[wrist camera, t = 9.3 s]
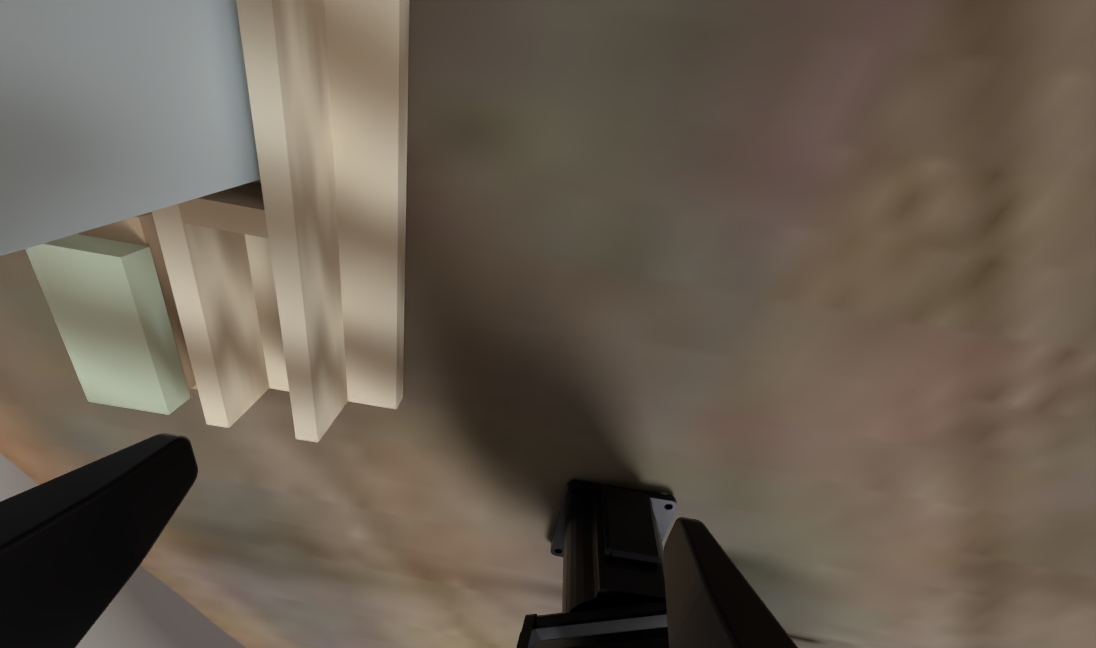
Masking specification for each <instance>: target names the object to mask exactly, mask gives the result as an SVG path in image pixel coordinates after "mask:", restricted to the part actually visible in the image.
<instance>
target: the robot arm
mask: <svg viewBox="0 0 1096 648" xmlns="http://www.w3.org/2000/svg"><path fill="white" fill-rule="evenodd" d="M197 473H198V466H197V463H196V459H195V456H194V452H193V449H192V445H191V442H190V440H189V439H188V438H187V437H185V436H180V435H174V434H167V433H163V434H158V435H155V436H153V437H150V438H148V439H146V440H143V441H141V442H139V443H136V444H134V445H132V446H129V447H127V448H125V449H122V450H120V451H118V452H115V453H113V454H111V455H108V456H106V457H104V458H101V459H99V460H97V461H94V462H92V463H90V464H87V465H85V466H83V467H80V468H78V469H76V470H73V471H71V472H69V473H66V474H64V475H62V476H59V477H57V478H55V479H52V480H50V481H48V482H45V483H43V484H41V485H38V486H36V487H34V488H32V489H29V490H27V491H24V492H22V493H20V494H18V495H15V496H13V497H10V498H8V499H6V500H4V501H1V502H0V648H75V647H76V646H77V645H78V643H79V642H80V640H82V638H83V637H84V636H85V635H86V633H87V632H88V631H89V629H90V628H91V627H92V625H93V624H94V623H95V622H96V620H97V619H98V618H99V617H100V615H101V614H102V613H103V612H104V610H105V609H106V608H107V607H108V605H109V604H110V603H111V601H112V600H113V599H114V598H115V596H116V595H117V594H118V593H119V591H120V590H121V589H122V587H123V586H124V585H125V584H126V582H127V581H128V580H129V579H130V577H131V576H132V575H133V573H134V572H135V571H136V569H137V568H138V567H139V565H140V564H141V562H142V561H143V559H144V558H145V557H146V555H147V554H148V552H149V551H150V549H151V548H152V546H153V545H154V543H155V542H156V540H157V539H158V537H159V536H160V534H161V532H162V531H163V529H164V528H165V526H166V525H167V523H168V522H169V520H170V519H171V517H172V516H173V514H174V513H175V511H176V510H177V508H178V506H179V505H180V503H181V502H182V500H183V499H184V497H185V496H186V494H187V493H188V491H189V490H190V488H191V487H192V485H193V483H194V482H195V480H196V477H197ZM676 510H677V502H676V499H675V498H674V497H673V496H670V495H664V494H658V493H652V492H646V491H640V490H634V489H628V488H622V487H616V486H610V485H604V484H597V483H591V482H585V481H579V480H572V481H570V482H569V483H568V484H567V487H566V491H565V494H564V498H563V502H562V505H561V509H560V513H559V517H558V520H557V524H556V528H555V531H554V535H553V539H552V542H551V553H552V554H553V555H555V556H560V557H563V596H562V613H556V614H547V615H539V616H537V614H530V615H526V616H525V620H524V624H523V628H522V631H521V633H520V636H519V640H518V644H517V648H798V647H797V646H796V644H795V643H794V642H793V640H792V639H791V638H790V637H789V635H788V634H787V633H786V631H785V630H784V629H783V627H782V626H781V625H780V623H779V622H778V621H777V620H776V618H775V617H774V616H773V614H772V613H771V612H770V610H769V609H768V608H767V606H766V605H765V604H764V602H763V601H762V600H761V599H760V597H759V596H758V595H757V593H756V592H755V591H754V589H753V588H752V587H751V585H750V584H749V583H748V581H747V580H746V579H745V578H744V576H743V575H742V574H741V572H740V571H739V570H738V568H737V567H736V566H735V564H734V563H733V562H732V561H731V559H730V558H729V557H728V555H727V554H726V553H725V551H724V550H723V549H722V547H721V546H720V545H719V543H718V542H717V541H716V540H715V538H714V537H713V536H712V534H711V533H710V532H709V530H708V529H707V528H706V526H705V525H704V524H703V523H702V522H701V521H699V520H696V519H690V518H684V517H680V518H678V519H677V520H676V522H675V524H674V526H673V528H672V530H671V532H670V534H669V536H668V539H667V541H666V543H665V546H664V551H663V546H662V540H663V538H664V536H665V534H666V531H667V529H668V527H669V525H670V523H671V520H672V518H673V516H674V514H675V512H676Z"/></svg>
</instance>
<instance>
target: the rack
mask: <svg viewBox="0 0 1096 648" xmlns="http://www.w3.org/2000/svg"><path fill="white" fill-rule="evenodd" d="M236 3H237V10H238V18H239V25H240V32H241V40H242V47H243V54H244V62H245V69H246V76H247V84H248V91H249V98H250V106H251V113H252V120H253V128H254V135H255V142H256V150H257V157H258V164H259V172H260V180H257V181H253V182H250V183H247V184H243V185H240V186H237V187H233V188H230V189H226V190H223V191H220V192H216V193H213V194H209V195H206V196H203V197H199V198H196V199H192V200H189V201H186V202H182V203H179V204H176V205H172V206H169V207H165V208H162V209H159V210H155V211H152V215H153V218H154V222H155V226H156V230H157V234H158V238H159V242H160V245H161V249H162V253H163V257H164V261H165V265H166V269H167V273H168V276H169V280H170V284H171V288H172V292H173V296H174V300H175V303H176V307H177V311H178V315H179V319H180V323H181V327H182V330H183V334H184V338H185V342H186V346H187V350H188V354H189V358H190V361H191V365H192V369H193V373H194V377H195V381H196V385H197V388H198V392H199V396H200V400H201V404H202V408H203V412H204V415H205V419H206V423H207V424H208V425H214V426H220V427H226V428H230V427H231V426H232V425H233V424H234V423H235V422H236V421H237V420H238V419H239V418H240V417H241V416H242V415H243V414H244V413H245V412H246V411H247V410H248V409H249V408H250V407H251V406H252V405H253V404H254V403H255V402H256V401H257V400H258V399H259V398H260V397H261V396H262V395H263V394H264V393H265V392H266V391H267V390H268V389H269V388H272V389H278V390H283V391H289V392H290V399H291V406H292V414H293V421H294V428H295V436H296V439H299V440H306V441H312V442H319V440H320V439H321V438H322V436H323V435H324V434H325V432H326V431H327V429H328V428H329V427H330V425H331V424H332V422H333V421H334V420H335V418H336V417H337V416H338V414H339V413H340V411H341V410H342V409H343V407H344V406H345V404H346V403H347V402H348V401H349V402H355V403H361V404H367V405H373V406H379V407H385V408H391V409H397V407H398V405H399V404H400V402H401V400H402V398H403V363H404V302H405V241H406V180H407V119H408V58H409V0H236Z"/></svg>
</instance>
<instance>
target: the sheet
mask: <svg viewBox="0 0 1096 648" xmlns="http://www.w3.org/2000/svg"><path fill="white" fill-rule="evenodd" d="M257 180H260V172H259V164H258V157H257V150H256V142H255V135H254V128H253V120H252V113H251V106H250V98H249V91H248V84H247V76H246V69H245V62H244V54H243V47H242V40H241V32H240V25H239V18H238V10H237V3H236V0H0V255H6V254H9V253H13V252H16V251H20V250H23V249H26V248H30V247H33V246H37V245H40V244H43V243H47V242H50V241H54V240H57V239H60V238H64V237H67V236H70V235H74V234H77V233H81V232H84V231H87V230H91V229H94V228H98V227H101V226H104V225H108V224H111V223H115V222H118V221H121V220H125V219H128V218H131V217H135V216H138V215H142V214H145V213H148V212H152V211H155V210H159V209H162V208H165V207H169V206H172V205H176V204H179V203H182V202H186V201H189V200H192V199H196V198H199V197H203V196H206V195H209V194H213V193H216V192H220V191H223V190H226V189H230V188H233V187H237V186H240V185H243V184H247V183H250V182H253V181H257Z"/></svg>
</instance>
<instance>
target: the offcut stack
mask: <svg viewBox="0 0 1096 648" xmlns="http://www.w3.org/2000/svg"><path fill="white" fill-rule="evenodd" d="M26 252H27V254H28V257H29V259H30V261H31V264H32V266H33V269H34V271H35V274H36V276H37V278H38V281H39V283H40V286H41V288H42V291H43V293H44V295H45V298H46V300H47V303H48V305H49V307H50V310H51V312H52V315H53V317H54V320H55V322H56V324H57V327H58V329H59V332H60V334H61V337H62V339H63V341H64V344H65V346H66V349H67V351H68V354H69V356H70V358H71V361H72V363H73V366H74V368H75V371H76V373H77V375H78V378H79V380H80V383H81V385H82V388H83V390H84V392H85V395H86V397H87V400H88V402H94V403H100V404H106V405H112V406H119V407H125V408H131V409H137V410H143V411H149V412H155V413H161V414H167V415H169V414H171V413H172V412H173V411H174V410H176V409H177V408H178V407H179V406H181V405H182V404H183V403H184V402H186V401H187V400H188V399H189V398H190V394H189V390H190V389H197V390H198V388H197V385H196V381H195V377H194V373H193V369H192V365H191V361H190V358H189V354H188V350H187V346H186V342H185V338H184V334H183V330H182V327H181V323H180V319H179V315H178V311H177V307H176V303H175V300H174V296H173V292H172V288H171V284H170V280H169V276H168V273H167V269H166V265H165V261H164V257H163V253H162V249H161V245H160V242H159V238H158V234H157V230H156V226H155V222H154V218H153V215H152V212H148V213H145V214H142V215H138V216H135V217H131V218H128V219H125V220H121V221H118V222H115V223H111V224H108V225H104V226H101V227H98V228H94V229H91V230H87V231H84V232H81V233H77V234H74V235H70V236H67V237H64V238H60V239H57V240H54V241H50V242H47V243H43V244H40V245H37V246H33V247H30V248H26Z"/></svg>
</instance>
